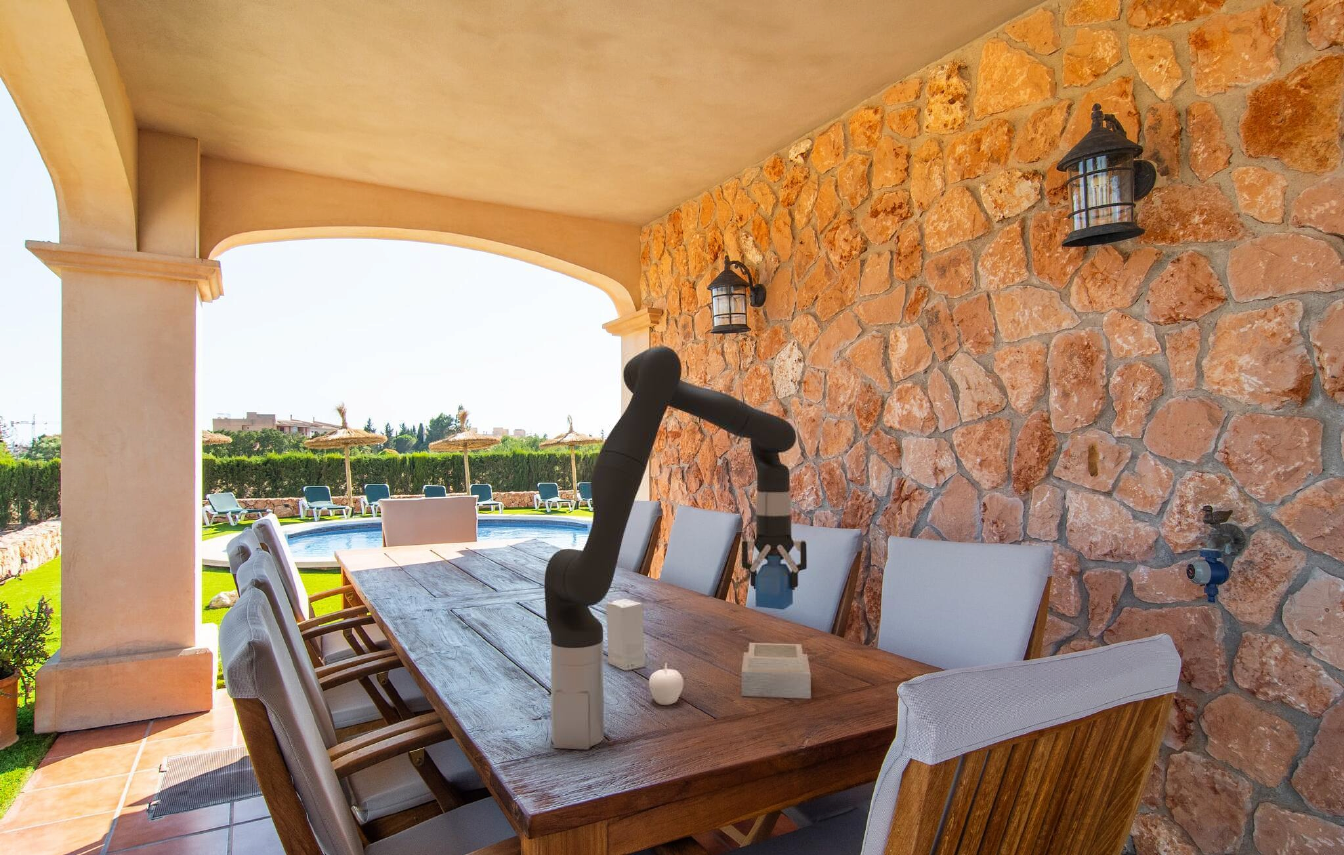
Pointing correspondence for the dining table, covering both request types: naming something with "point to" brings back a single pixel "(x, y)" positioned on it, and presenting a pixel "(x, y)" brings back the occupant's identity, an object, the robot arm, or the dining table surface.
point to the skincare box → (625, 634)
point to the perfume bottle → (773, 584)
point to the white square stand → (776, 671)
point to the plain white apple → (666, 685)
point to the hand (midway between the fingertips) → (774, 588)
